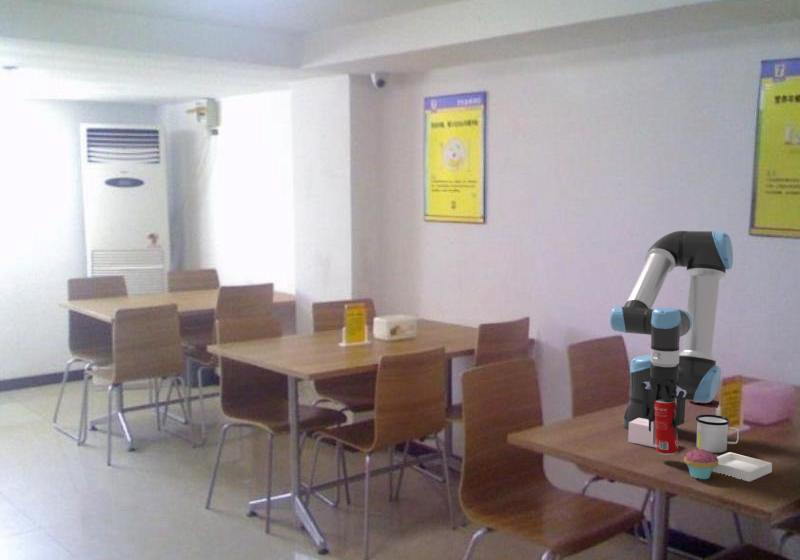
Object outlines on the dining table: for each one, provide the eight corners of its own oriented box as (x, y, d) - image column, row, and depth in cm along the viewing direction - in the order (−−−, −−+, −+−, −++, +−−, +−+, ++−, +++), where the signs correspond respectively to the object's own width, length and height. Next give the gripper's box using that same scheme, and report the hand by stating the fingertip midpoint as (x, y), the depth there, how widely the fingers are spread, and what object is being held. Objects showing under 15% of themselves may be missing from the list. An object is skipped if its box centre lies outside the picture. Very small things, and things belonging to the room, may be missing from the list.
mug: (696, 452, 231) (697, 421, 230) (692, 442, 240) (693, 413, 240) (740, 455, 228) (741, 424, 227) (735, 445, 237) (736, 416, 237)
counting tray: (706, 469, 216) (706, 460, 216) (729, 460, 224) (729, 452, 224) (749, 481, 207) (749, 472, 207) (771, 472, 215) (772, 463, 214)
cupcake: (678, 471, 215) (679, 427, 214) (708, 470, 216) (710, 427, 215) (692, 482, 207) (694, 437, 205) (723, 481, 207) (725, 436, 206)
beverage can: (679, 456, 220) (680, 403, 218) (654, 455, 221) (655, 402, 219) (676, 449, 225) (678, 397, 224) (652, 448, 227) (653, 396, 225)
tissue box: (628, 441, 241) (628, 421, 241) (638, 436, 246) (638, 416, 246) (660, 448, 235) (660, 427, 234) (669, 443, 240) (670, 422, 239)
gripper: (629, 360, 225) (627, 440, 228) (685, 371, 212) (682, 456, 215) (645, 357, 230) (643, 435, 233) (700, 367, 217) (697, 450, 220)
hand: (662, 445), depth 224 cm, fingers closed on beverage can, 4 cm apart
